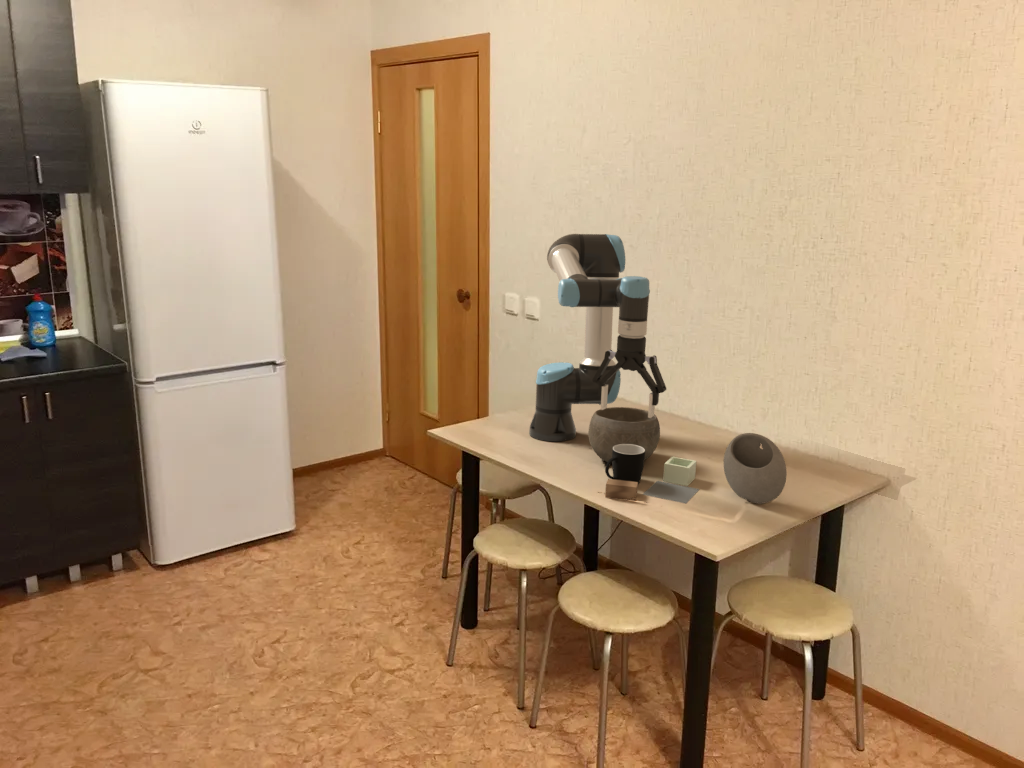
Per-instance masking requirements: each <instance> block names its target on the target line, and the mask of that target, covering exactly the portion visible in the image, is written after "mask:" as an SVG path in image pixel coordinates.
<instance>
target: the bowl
mask: <svg viewBox="0 0 1024 768" xmlns="http://www.w3.org/2000/svg"><path fill="white" fill-rule="evenodd" d="M587 434H588V442H589V444H590V447H591V449H592V450H593V452H594V453H595V454H596V455H597V456H598V458H599V459H602V461H604V462H606V463H607V462H608V461H609V460H610V459H611V458H612V449H613V447H614V446H615V445H619V444H633V445H638V446H641V447H643V448H644V449H645V459H644V461H646V460H647V459H648V458H650V457H651V455H653V453H654V452H655V450H656V448H657V445H658V443H659V441H660V436H661V425H660V421H659V419H658V416H657V415H656V414H655V413H654V416H653V417H651V418H648V410H646V409H641V408H636V407H627V406H625V407H624V406H614V407H613V406H612V407H607V408H606V409H604V410H601V408H600V409H597V410H595V411H594V413H593V414H592V416H591V419H590V421H589V426H588V433H587Z"/></svg>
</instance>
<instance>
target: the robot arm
mask: <svg viewBox="0 0 1024 768" xmlns="http://www.w3.org/2000/svg"><path fill="white" fill-rule="evenodd" d="M546 260H547V264H548V266H549V268H550V269H551V270H552V272H554V273H555V274H556V276H557V278H558V281H559V282H558V287H557V299H558V304H559V305H560V306H562V307H570V308H585V325H584V326H585V327H584V328H585V329H584V353H583V354H584V357H583V358H582V359H581V360H580V361H579V364H578V365H579V367H574V365H573V363H570V362H564V361H563V362H562V361H561V362H560V361H559V362H552V363H547V364H544V365H542V366H540V367H539V368H538V369H537V372H536V380H535V384H536V389H535V392H536V393H535V411H534V414H533V417H532V419H531V422H530V425H529V435H530V437H532V438H533V439H536V440H540V441H544V442H545V441H546V442H565V441H570V440H572V439H574V438H575V437H576V435H577V434H576V433H577V431H576V430H577V428H576V425H575V422H574V418H573V414H572V406H573V405H599V406H600V409H601V410H604V409H606V408H608V405H610V404H613V403H614V402H615V401H616V400H617V398H618V395H619V393H620V389H621V388H620V387H621V382H622V381H621V379H622V378H621V371H620V369H622V370H623V371H627V370H628V371H630V372H631V371H632V372H635V371H636V372H637V373H638V374H639V375H640V376H641V378H642V380H643V381H644V382H645V384H646V386H648V389H649V390H650V391H651V392H650V393H649V400H648V410H647V411H648V418H651V417H653V416H654V414H655V407H656V406H658V405H659V400H660V399H659V397H660V394H662V393H664V392H666V391H667V386H666V384H665V381H664V378H663V375H662V373H661V370H660V369H659V366H658V359H657V356H656V355H655V354H654V355H652V356H650V355H649V356H646V345H647V343H646V342H647V337H646V335H647V329H648V328H647V327H648V315H649V314H648V313H649V312H648V311H649V301H650V292H651V290H650V279H649V278H648V277H644V276H639V275H638V276H637V275H630V276H627V275H626V276H623V277H620V273H623V272H624V271H625V269H626V253H625V244H624V242H623V240H622V238H621V237H620V236H618V235H616V234H607V233H604V234H601V233H599V234H597V233H595V234H594V233H593V234H592V233H589V234H587V233H570V234H567V235H563V236H561V237H560V238H558V239H556V240H555V241H554V242H553V243H552V244H551V245H550V247H549V248H548V251H547V256H546ZM614 308H619V309H618V323H617V324H618V328H617V334H619V335H617V337H616V338H617V339H616V341H617V342H616V351H614V350H613V349H612V340H613V337H612V336H613V316H614V314H613V313H614ZM614 358H615V360H616V361H617V363H616V362H615V361H614ZM645 362H646V363H647V364H648V365H649V368H650V371H651V373H652V376H653V377H652V376H651V375H650V373H649V372H648V370H647V367H646V366H645Z"/></svg>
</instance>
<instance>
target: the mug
mask: <svg viewBox="0 0 1024 768" xmlns="http://www.w3.org/2000/svg"><path fill="white" fill-rule="evenodd" d="M644 459H645V449H644V448H643V447H641V446H638V445H633V444H619V445H615V446H614V447H613V449H612V458H611V459H610V460H609V461H608V462H606V464H605V469H604V470H605V471H604V472H605V475H606V477H607V478H608V479H614V480H623V481H632V482H638V484H640V482H641V479H642V475H643V471H644V465H645V460H646V459H645V460H644ZM611 464H612V467H611V468H612V475H610V472H609V471H610V466H611Z"/></svg>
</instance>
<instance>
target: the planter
mask: <svg viewBox="0 0 1024 768" xmlns="http://www.w3.org/2000/svg"><path fill="white" fill-rule="evenodd" d="M723 470H724V476H725V478H726V482H727V484H728V485H729V486H730V488H731V490H732V491H733V492H734V493H735V494H736V495H737V496H739V497H740V498H742V499H744V500H746V501H747V502H749V503H752V504H766V503H770V502H772V501H773V500H775V499H777V498H778V497H779V496H780V495H781V494H782V492H783V491H784V489H785V486H786V481H787V473H788V472H787V464H786V461H785V459H784V456H783V454H782V451H781V450H780V448H779V447H778V445H776V444H775V443H774V441H772V440H771V439H770V438H768V437H766V436H764V435H762V434H758V433H754V432H746V433H745V432H744V433H741V434H738V435H736V436H735V437H734V438H733V439H732V440H731V441H730V442H729V443H728V445H727V447H726V449H725V452H724V456H723Z"/></svg>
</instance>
